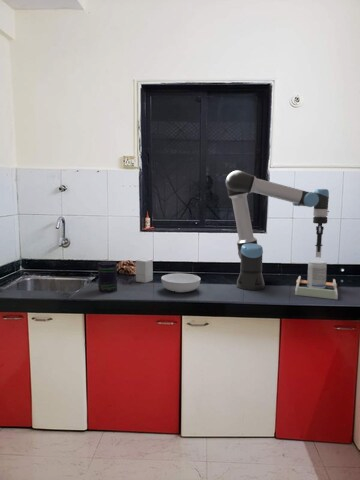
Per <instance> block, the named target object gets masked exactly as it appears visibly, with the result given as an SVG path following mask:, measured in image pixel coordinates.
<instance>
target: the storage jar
mask: <svg viewBox="0 0 360 480" xmlns="http://www.w3.org/2000/svg"><path fill="white" fill-rule="evenodd" d="M97 274H98V281H97V286H98V293H102V294H112V293H115V292H116V293H117V291H118V279H117V277H118V275H117V274H118V262H117V261H115V260H103V261H98V262H97Z"/></svg>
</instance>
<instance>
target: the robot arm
mask: <svg viewBox="0 0 360 480" xmlns="http://www.w3.org/2000/svg"><path fill="white" fill-rule="evenodd" d="M225 187H226V189H227V195H228V198H229V199H231V203H232V208H233V213H234V219H235V223H236V224H235V225H236V230H237V235H238V240H237V242H236V245H237V251H238V252H237V255H238V257H239V259H240V272H239V275H238V277H237V280H236V287H238V288H239V289H240V290H241V289H242V290H249V291H258V290H263V289H264V288H265V281H264V277H263V273H262V272H263V253H264V250H263V246H262V245H260V244H258V240H257V238H256V237H254V232H253V227H252V226H253V225H252V220H251V215H250V209H249V203H248V197H247V196H248V194H251V193H255V194H260V195H262V196H267V197H270V198H273V199H277V200H282V201H285V202H290V203H292V205H293V206H296V207H306V208H307V207H308V208H313V218H312V222H313V223H312V224H317V226H315V231H316V244H315V245H314V246H315V258H319V259H320V258H322V247H323V246H324V244H323V243H322V240H323V239H322V238H323V234H324V233H323V232H324V226H323V225H324V224H328V215H329V214H328V213H329V212H330V211H329V200H330V199H329V198H330V197H329V196H330V191H329V189H326V188H321V189H320V188H316V189H314V192H312V191H311V192H310V191H307V190H303V189H299V188H295V187H292V186H287V185H283V184H279V183H277V182H276V183H275V182H272V181H268V180H265V179H261V178H257V176H255V175H252V174H249V173H247V172H244V171H242V170H238V169H237V170H234V171H232V172H230V173H229V174H228V175H227V176H226V179H225Z"/></svg>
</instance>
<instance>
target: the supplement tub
mask: <svg viewBox="0 0 360 480" xmlns="http://www.w3.org/2000/svg"><path fill="white" fill-rule="evenodd" d="M307 280H308V282H307V284H306V286H307V287H308V288H318V289H326V287H327V286H326V282H327V261H325V260H319V259H318V260H317V259H313V260H308V263H307Z"/></svg>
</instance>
